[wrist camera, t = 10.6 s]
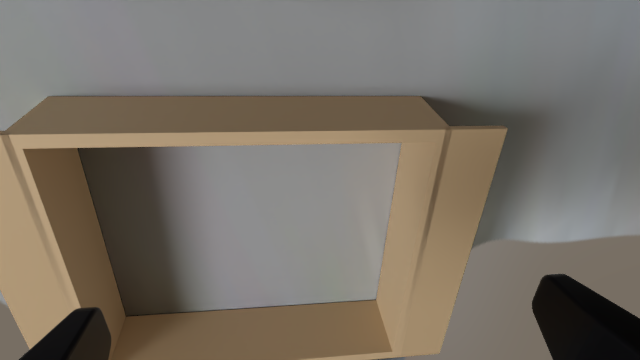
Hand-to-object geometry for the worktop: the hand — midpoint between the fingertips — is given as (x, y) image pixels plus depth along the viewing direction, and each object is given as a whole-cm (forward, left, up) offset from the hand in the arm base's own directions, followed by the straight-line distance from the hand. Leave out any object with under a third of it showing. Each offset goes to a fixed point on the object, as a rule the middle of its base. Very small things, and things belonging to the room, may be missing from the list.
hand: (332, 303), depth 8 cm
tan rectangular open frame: (+2, +6, -11) cm, 12 cm away
